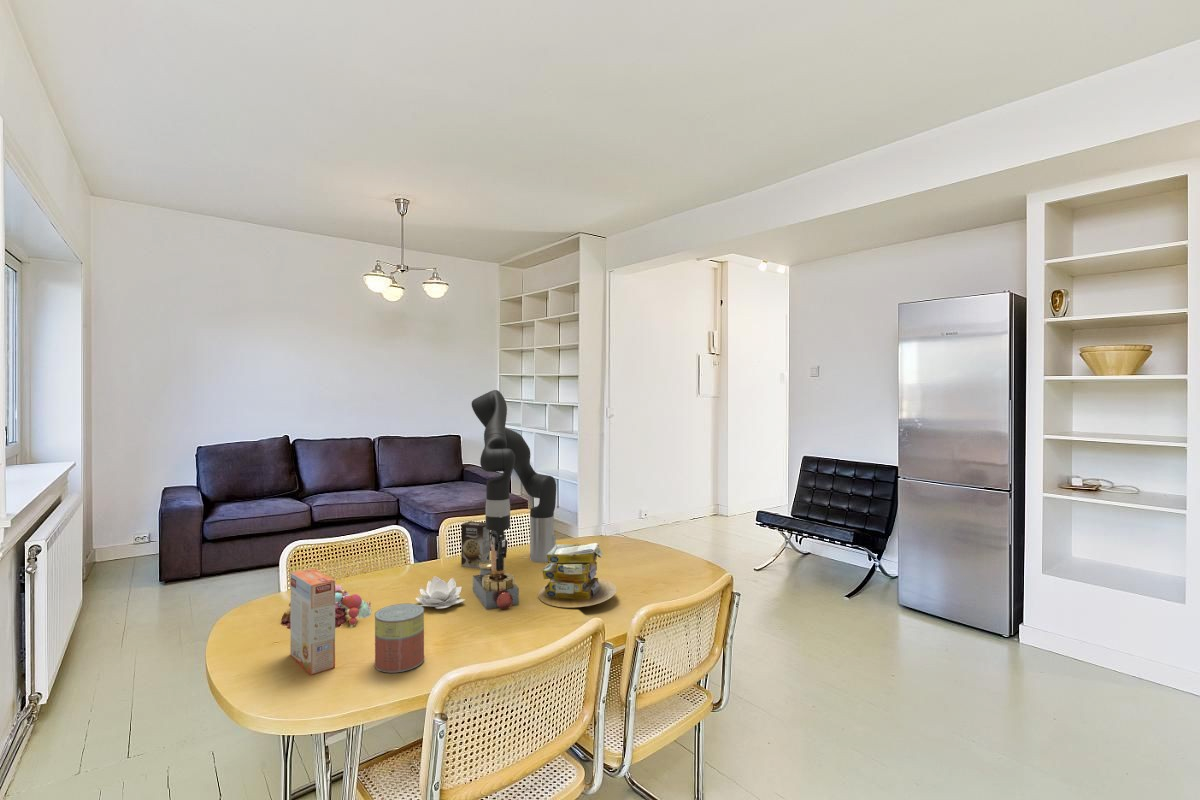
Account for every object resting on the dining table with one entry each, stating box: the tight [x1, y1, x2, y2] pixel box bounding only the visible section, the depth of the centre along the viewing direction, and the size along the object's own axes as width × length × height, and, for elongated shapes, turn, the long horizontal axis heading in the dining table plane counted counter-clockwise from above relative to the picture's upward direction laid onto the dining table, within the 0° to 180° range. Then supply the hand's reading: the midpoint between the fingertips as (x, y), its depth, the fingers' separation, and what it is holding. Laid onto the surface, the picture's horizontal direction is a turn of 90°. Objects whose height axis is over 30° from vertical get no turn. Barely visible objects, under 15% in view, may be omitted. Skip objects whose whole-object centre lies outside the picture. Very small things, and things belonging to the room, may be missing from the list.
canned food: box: [374, 602, 425, 674], centre depth 140 cm, size 11×11×12 cm
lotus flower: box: [415, 575, 466, 610], centre depth 178 cm, size 14×15×9 cm
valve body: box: [472, 559, 520, 610], centre depth 183 cm, size 21×10×9 cm, turn 25°
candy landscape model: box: [280, 583, 373, 630], centre depth 168 cm, size 25×24×9 cm
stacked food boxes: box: [537, 542, 617, 608], centre depth 187 cm, size 25×25×17 cm
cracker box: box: [290, 568, 336, 676], centre depth 140 cm, size 14×6×21 cm, turn 45°
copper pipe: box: [490, 543, 505, 580], centre depth 181 cm, size 4×4×12 cm
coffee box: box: [460, 520, 491, 570], centre depth 218 cm, size 9×6×16 cm
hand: (497, 568), depth 181 cm, fingers closed on copper pipe, 4 cm apart
